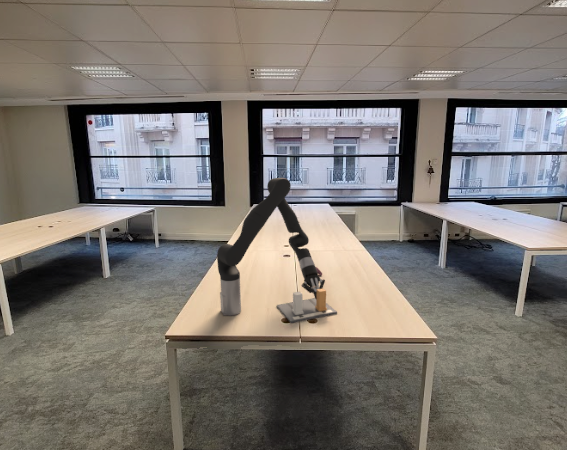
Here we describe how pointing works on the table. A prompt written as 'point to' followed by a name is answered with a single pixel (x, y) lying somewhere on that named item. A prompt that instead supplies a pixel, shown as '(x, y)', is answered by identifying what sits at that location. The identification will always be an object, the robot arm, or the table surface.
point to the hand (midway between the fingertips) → (319, 299)
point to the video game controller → (319, 271)
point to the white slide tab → (297, 303)
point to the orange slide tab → (321, 300)
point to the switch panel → (305, 311)
